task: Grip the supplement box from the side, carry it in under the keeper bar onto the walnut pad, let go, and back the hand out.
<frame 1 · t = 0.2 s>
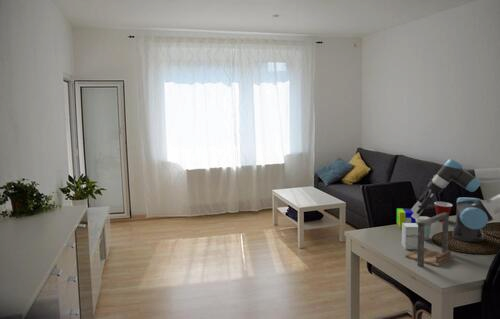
hand: (413, 214, 204), 15 cm above the table, tool tilted 35°, fingers open, 13 cm apart
coffee cup: (423, 238, 208), on the table
plastic cup: (442, 221, 238), on the table
keeper arch: (429, 257, 181), on the table
puzzle toy: (406, 226, 232), on the table
supplement box: (410, 247, 196), on the table
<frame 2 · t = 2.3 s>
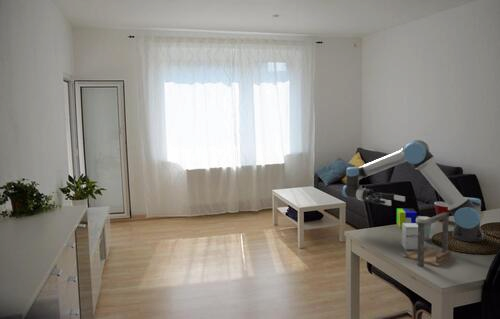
hand: (398, 201, 201), 24 cm above the table, tool horizontal, fingers open, 13 cm apart
nothing on the table moved.
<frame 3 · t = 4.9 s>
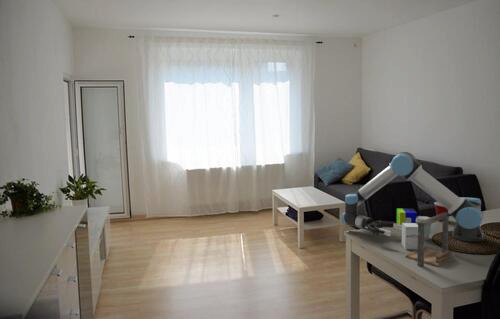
hand: (397, 231, 201), 7 cm above the table, tool horizontal, fingers open, 13 cm apart
nothing on the table moved.
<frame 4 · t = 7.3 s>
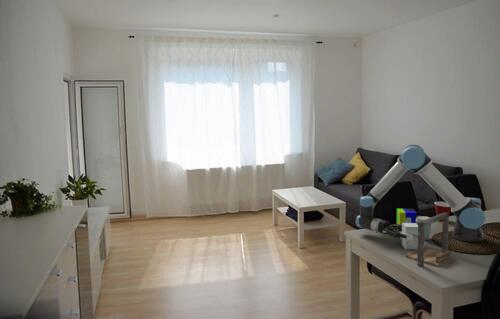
hand: (418, 235, 191), 8 cm above the table, tool horizontal, fingers closed on supplement box, 10 cm apart
supplement box: (410, 247, 196), on the table, touching gripper
everything else where it was.
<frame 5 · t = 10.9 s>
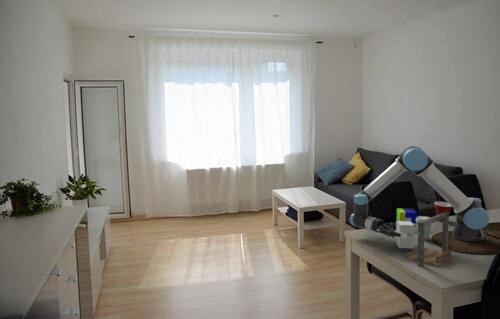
hand: (412, 234, 187), 10 cm above the table, tool horizontal, fingers closed on supplement box, 10 cm apart
supplement box: (404, 246, 192), point 2 cm above the table, touching gripper
everything else where it was.
when the fingers open (10 cm above the table, at t = 14.4 s): supplement box drops 1 cm, resting on keeper arch.
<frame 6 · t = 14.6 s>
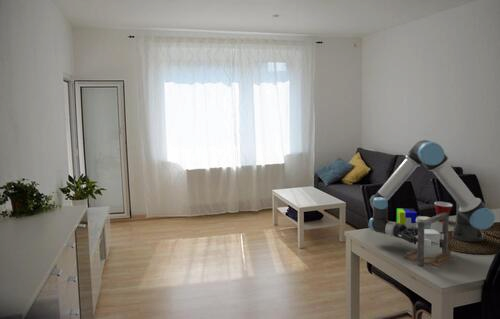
hand: (437, 240, 177), 10 cm above the table, tool horizontal, fingers open, 12 cm apart
supplement box: (429, 255, 181), point 1 cm above the table, touching keeper arch
everything else where it was.
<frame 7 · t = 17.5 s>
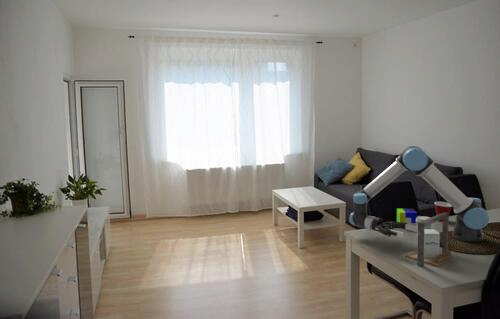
hand: (410, 232, 188), 11 cm above the table, tool horizontal, fingers open, 13 cm apart
nothing on the table moved.
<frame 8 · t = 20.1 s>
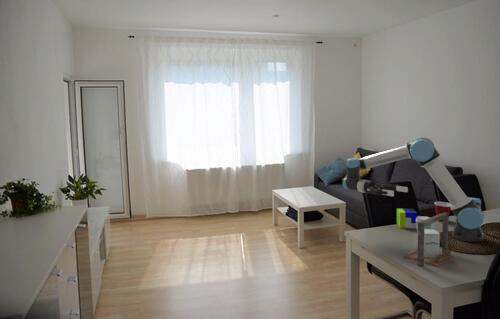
hand: (400, 191, 195), 30 cm above the table, tool horizontal, fingers open, 13 cm apart
nothing on the table moved.
at the end: supplement box inside the target area on the keeper arch (0.1 cm from its centre), point 0.8 cm above the keeper arch's base; supplement box tilted 0°; the gripper is holding nothing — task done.
